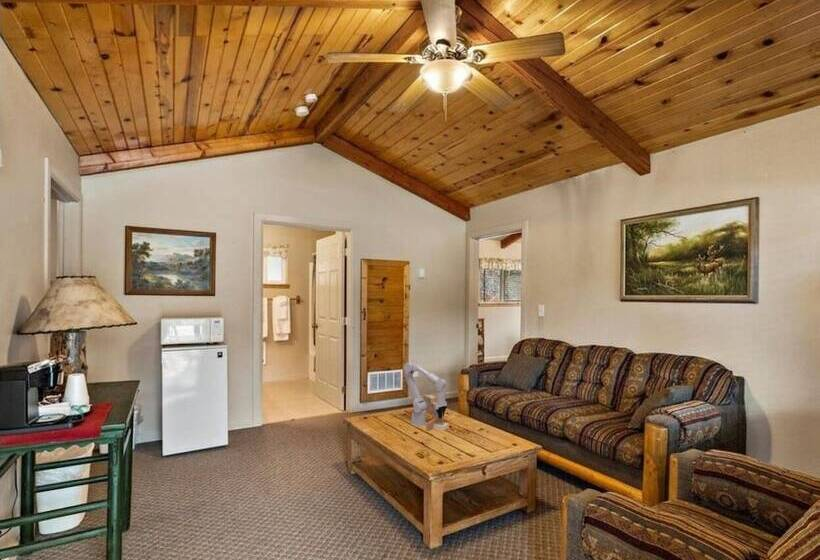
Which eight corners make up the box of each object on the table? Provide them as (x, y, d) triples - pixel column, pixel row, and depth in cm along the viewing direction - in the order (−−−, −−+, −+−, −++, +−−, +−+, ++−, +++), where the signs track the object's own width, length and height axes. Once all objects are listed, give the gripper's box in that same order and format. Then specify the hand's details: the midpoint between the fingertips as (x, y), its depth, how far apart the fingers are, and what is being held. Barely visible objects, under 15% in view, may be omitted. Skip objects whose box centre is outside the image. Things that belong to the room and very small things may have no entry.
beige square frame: (433, 428, 290) (433, 424, 290) (438, 425, 297) (438, 421, 297) (444, 430, 286) (444, 426, 286) (449, 426, 293) (449, 423, 293)
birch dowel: (438, 420, 291) (438, 410, 291) (440, 419, 293) (440, 409, 293) (442, 421, 290) (442, 410, 290) (443, 420, 292) (443, 409, 292)
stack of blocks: (444, 416, 319) (444, 400, 319) (437, 418, 316) (436, 401, 316) (430, 409, 338) (430, 394, 338) (423, 410, 335) (423, 394, 336)
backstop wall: (426, 430, 286) (426, 423, 286) (439, 422, 303) (439, 415, 303) (429, 431, 285) (429, 423, 285) (442, 422, 302) (442, 415, 302)
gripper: (441, 400, 284) (441, 421, 283) (450, 395, 296) (451, 415, 296) (432, 399, 287) (432, 419, 287) (441, 394, 300) (441, 414, 299)
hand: (441, 417), depth 292 cm, fingers closed on birch dowel, 2 cm apart
